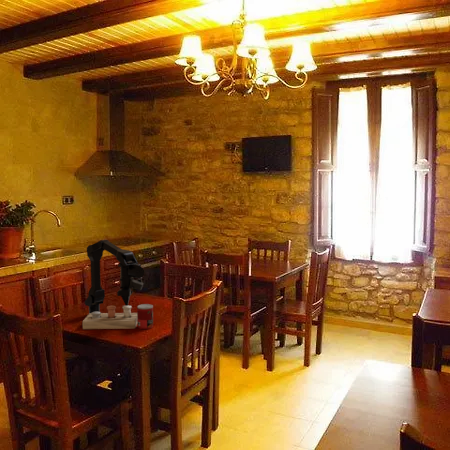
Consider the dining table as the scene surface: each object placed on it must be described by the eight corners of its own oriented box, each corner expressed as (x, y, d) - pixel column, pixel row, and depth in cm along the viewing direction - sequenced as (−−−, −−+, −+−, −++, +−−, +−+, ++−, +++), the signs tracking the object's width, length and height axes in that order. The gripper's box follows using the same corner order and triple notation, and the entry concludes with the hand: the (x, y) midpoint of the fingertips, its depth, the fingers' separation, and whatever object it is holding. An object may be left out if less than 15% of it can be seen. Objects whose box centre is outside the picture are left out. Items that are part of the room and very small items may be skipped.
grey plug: (92, 322, 237) (92, 311, 236) (101, 322, 237) (101, 311, 236) (90, 325, 232) (90, 314, 232) (99, 325, 232) (99, 313, 232)
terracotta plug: (108, 316, 237) (107, 305, 236) (117, 316, 237) (116, 305, 236) (106, 319, 232) (105, 308, 232) (115, 319, 232) (115, 307, 232)
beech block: (89, 320, 241) (89, 313, 241) (139, 320, 242) (138, 312, 242) (82, 329, 227) (82, 321, 227) (134, 328, 228) (134, 320, 228)
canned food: (150, 330, 226) (149, 308, 225) (135, 328, 228) (134, 307, 227) (155, 325, 234) (155, 304, 233) (140, 324, 235) (140, 303, 234)
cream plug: (123, 316, 237) (123, 305, 237) (132, 316, 237) (132, 305, 237) (121, 319, 232) (121, 307, 232) (130, 318, 233) (130, 307, 232)
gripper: (139, 279, 224) (139, 310, 225) (144, 272, 243) (144, 300, 244) (116, 279, 223) (117, 310, 225) (123, 272, 242) (124, 300, 243)
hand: (126, 305), depth 234 cm, fingers closed
